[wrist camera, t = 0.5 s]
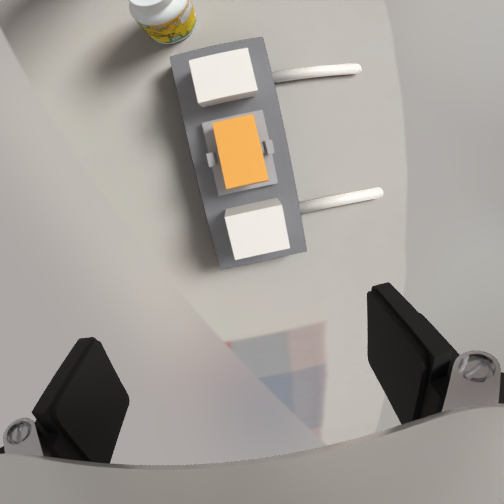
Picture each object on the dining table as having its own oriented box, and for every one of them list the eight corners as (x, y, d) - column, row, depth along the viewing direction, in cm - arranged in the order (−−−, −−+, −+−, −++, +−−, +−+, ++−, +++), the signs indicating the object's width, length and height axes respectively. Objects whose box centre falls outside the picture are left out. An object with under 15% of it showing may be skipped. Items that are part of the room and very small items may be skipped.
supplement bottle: (204, 9, 26) (194, -32, 17) (185, 50, 28) (167, 18, 19) (159, 0, 25) (136, -39, 16) (140, 40, 27) (108, 9, 18)
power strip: (175, 63, 28) (161, 46, 22) (350, 37, 28) (373, 18, 21) (221, 259, 35) (218, 284, 29) (383, 224, 35) (410, 241, 29)
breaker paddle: (211, 127, 27) (209, 123, 26) (255, 118, 27) (255, 113, 26) (225, 191, 27) (223, 189, 26) (270, 181, 27) (271, 179, 26)
